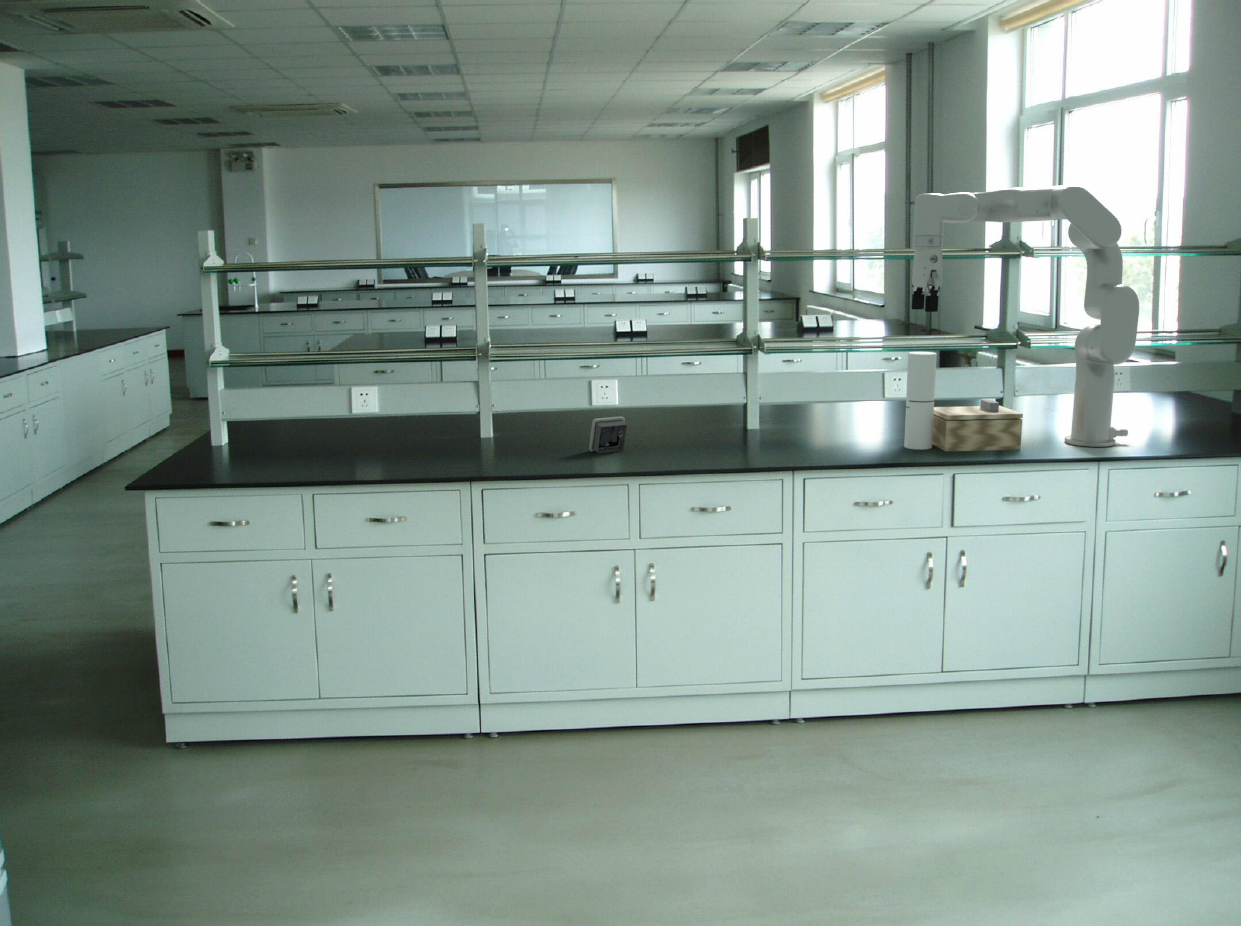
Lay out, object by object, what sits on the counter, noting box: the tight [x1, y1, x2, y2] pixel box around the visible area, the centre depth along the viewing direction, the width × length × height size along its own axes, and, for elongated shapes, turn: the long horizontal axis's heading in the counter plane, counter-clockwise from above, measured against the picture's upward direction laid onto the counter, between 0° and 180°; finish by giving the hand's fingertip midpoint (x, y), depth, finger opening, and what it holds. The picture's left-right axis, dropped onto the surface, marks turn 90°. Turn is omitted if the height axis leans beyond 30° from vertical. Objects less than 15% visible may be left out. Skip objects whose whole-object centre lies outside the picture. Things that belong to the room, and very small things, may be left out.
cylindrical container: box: [903, 351, 938, 450], centre depth 283 cm, size 7×7×25 cm
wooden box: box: [932, 414, 1024, 452], centre depth 286 cm, size 20×14×8 cm
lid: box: [934, 398, 1024, 420], centre depth 284 cm, size 20×14×4 cm
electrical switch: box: [588, 416, 628, 454], centre depth 282 cm, size 9×5×9 cm, turn 118°
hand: (924, 310), depth 278 cm, fingers open, 9 cm apart
